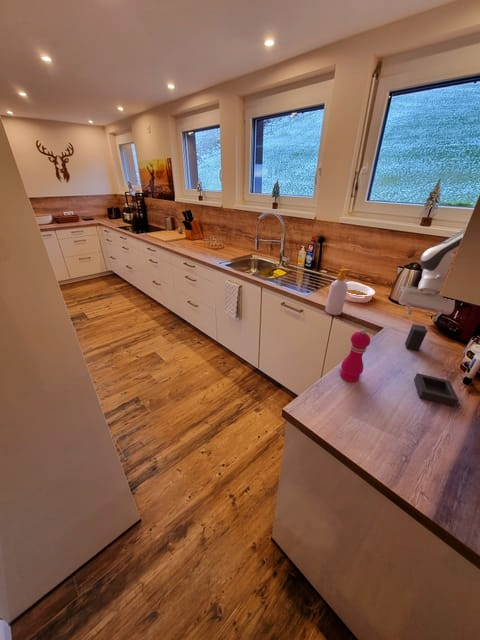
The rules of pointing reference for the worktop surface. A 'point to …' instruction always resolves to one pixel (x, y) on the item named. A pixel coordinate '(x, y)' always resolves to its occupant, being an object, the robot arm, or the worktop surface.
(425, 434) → the worktop surface
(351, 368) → the pepper mill
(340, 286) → the soap bottle
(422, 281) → the robot arm
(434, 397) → the base pad
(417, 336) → the dark grey block
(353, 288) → the white oval dish
